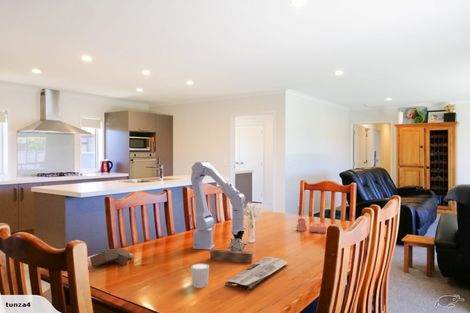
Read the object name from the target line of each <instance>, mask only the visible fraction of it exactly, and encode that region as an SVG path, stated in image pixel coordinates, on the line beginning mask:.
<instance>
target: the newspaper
mask: <svg viewBox="0 0 470 313" xmlns="http://www.w3.org/2000/svg"><path fill="white" fill-rule="evenodd" d="M288 263H289V261H286V260H285V259H283V258H277V257H272V256H264V257H263V258H261V259H260V260H258V261H257V262H255V263H254V264H252V265H251V266H249V267H248V268H247V267H246V269H244V270H243V271H241V272H239V273H238V274H236V275H235V276H233V277H232V278H230V279H228V280H227V281H226V282H225V286H232V284H239V285H242V286H247V287H248V288H247V290H250V289H252V288H253V287H254V286H256V285H257V284H258V283H260V282H262V281H263V280H264V279H265V278H267V277H268V276H270V275H272V274H273V273H274V272H277V271H278V270H279V269H281V268H282V267H284V266H285V265H287V264H288Z"/></svg>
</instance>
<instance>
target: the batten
mask: <svg viewBox="0 0 470 313" xmlns="http://www.w3.org/2000/svg"><path fill="white" fill-rule="evenodd" d="M209 253H210V254H209V259H210V260H211V261H220V262H221V261H222V262H231V263H232V262H233V263H234V262H235V263H245V264H247V263H248V264H252V262H253V252H251V251H250V252H249V251H243V252H239V251H231V250H222V249H221V250H220V249H211V250H209Z"/></svg>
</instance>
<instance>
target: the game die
mask: <svg viewBox="0 0 470 313" xmlns="http://www.w3.org/2000/svg"><path fill="white" fill-rule="evenodd" d="M230 240H231V241H230V244H229V245H228V247H226V249H227V250H228V249H229V251H239V252H244V249H245V247H246V246H247V243H245V242H244V241H243V239H242V240H241V239H240V237H239V238H238V239H234V238H233V239H232V238H231V237H230Z"/></svg>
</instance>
